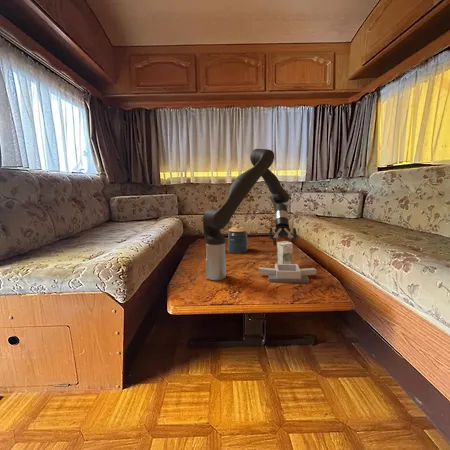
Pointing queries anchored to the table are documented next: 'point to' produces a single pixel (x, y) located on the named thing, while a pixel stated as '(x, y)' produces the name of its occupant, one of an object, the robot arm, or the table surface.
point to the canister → (237, 240)
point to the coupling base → (287, 273)
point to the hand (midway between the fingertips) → (283, 245)
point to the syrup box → (284, 252)
